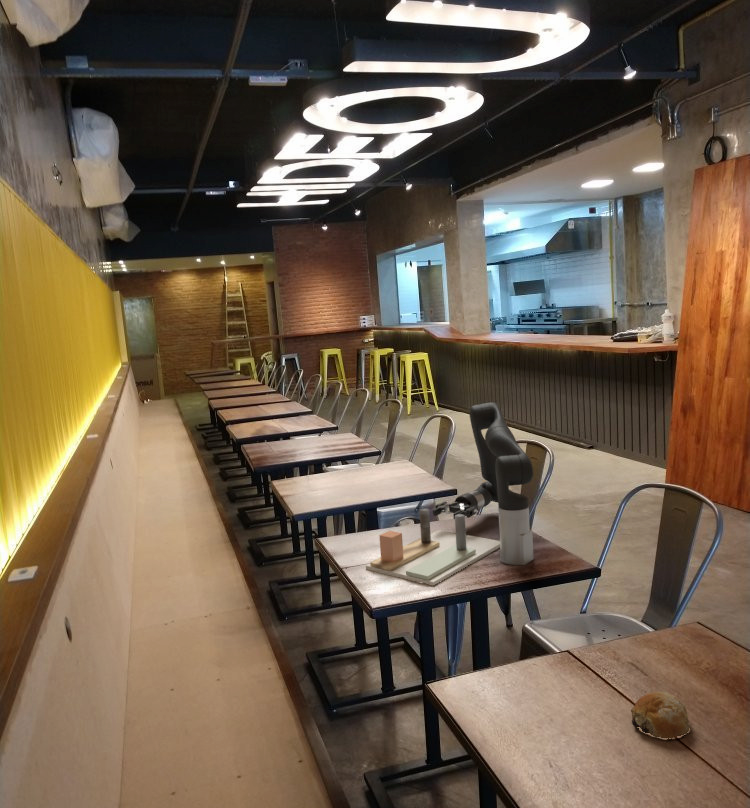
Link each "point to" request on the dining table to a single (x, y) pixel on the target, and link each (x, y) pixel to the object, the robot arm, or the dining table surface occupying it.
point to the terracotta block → (391, 546)
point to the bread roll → (660, 715)
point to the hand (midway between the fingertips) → (444, 514)
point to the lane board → (446, 541)
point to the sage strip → (445, 555)
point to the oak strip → (412, 545)
